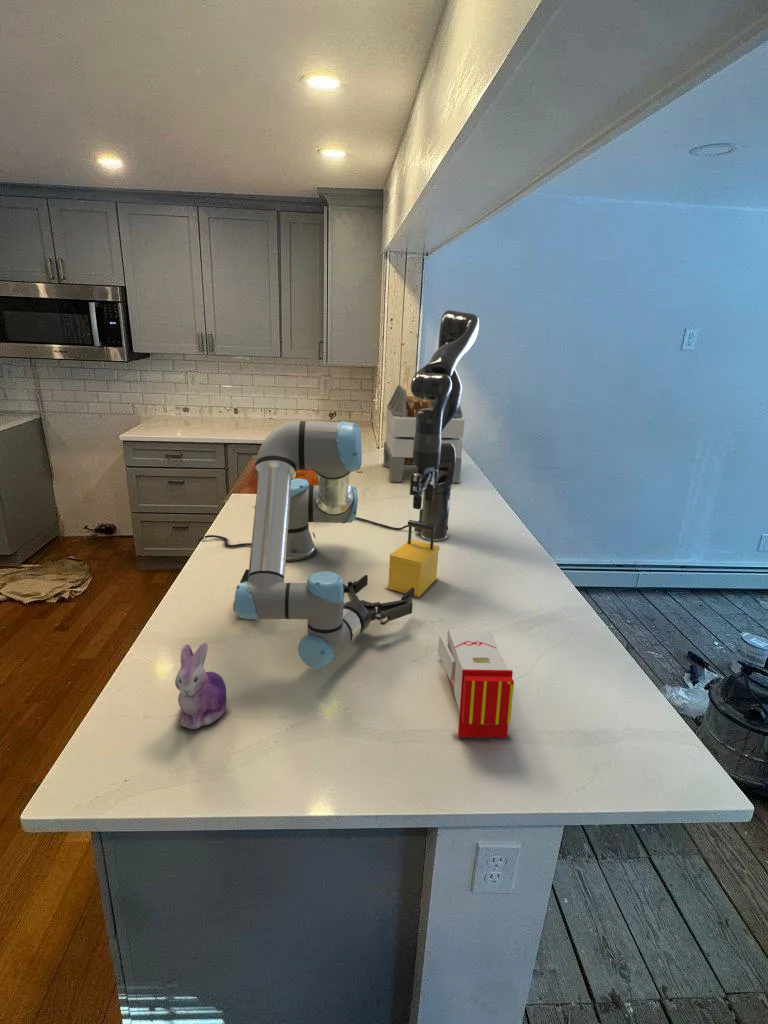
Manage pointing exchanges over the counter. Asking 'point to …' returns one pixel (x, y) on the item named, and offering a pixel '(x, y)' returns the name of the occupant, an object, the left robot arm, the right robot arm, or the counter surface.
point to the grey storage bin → (403, 433)
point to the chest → (412, 575)
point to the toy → (478, 682)
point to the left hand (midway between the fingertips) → (389, 585)
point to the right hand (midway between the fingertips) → (423, 504)
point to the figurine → (199, 690)
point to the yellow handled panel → (416, 547)
